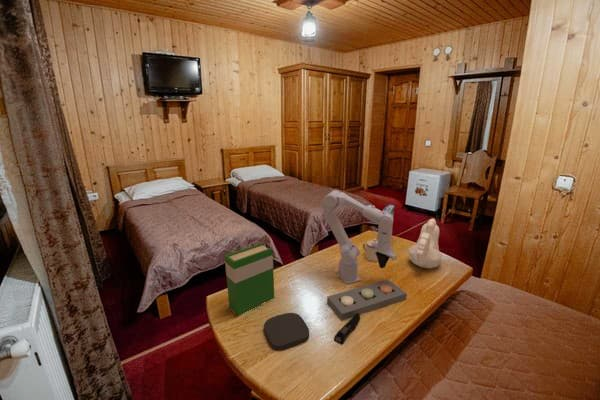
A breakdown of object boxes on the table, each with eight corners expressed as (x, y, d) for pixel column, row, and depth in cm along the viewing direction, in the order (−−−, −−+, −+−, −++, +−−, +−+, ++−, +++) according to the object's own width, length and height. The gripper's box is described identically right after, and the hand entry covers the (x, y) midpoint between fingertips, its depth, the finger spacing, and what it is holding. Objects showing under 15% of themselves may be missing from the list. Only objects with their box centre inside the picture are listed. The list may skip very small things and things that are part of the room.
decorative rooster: (417, 253, 162) (421, 212, 155) (445, 263, 151) (452, 219, 144) (394, 269, 146) (398, 224, 139) (424, 281, 135) (431, 233, 128)
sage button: (358, 294, 122) (359, 290, 121) (368, 292, 124) (368, 287, 123) (365, 301, 118) (366, 296, 117) (375, 298, 119) (376, 293, 119)
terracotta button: (377, 290, 126) (377, 286, 125) (386, 288, 128) (386, 283, 127) (385, 297, 122) (385, 292, 121) (394, 294, 124) (394, 289, 123)
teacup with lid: (385, 258, 157) (387, 239, 154) (376, 264, 151) (377, 244, 148) (367, 251, 166) (368, 232, 162) (357, 256, 160) (358, 237, 156)
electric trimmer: (362, 321, 110) (363, 314, 109) (342, 345, 98) (342, 338, 97) (353, 317, 112) (354, 310, 111) (333, 340, 100) (333, 333, 100)
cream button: (338, 302, 118) (338, 297, 118) (348, 299, 120) (349, 294, 120) (345, 309, 114) (345, 304, 113) (355, 306, 116) (355, 301, 115)
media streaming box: (273, 354, 95) (273, 347, 94) (261, 326, 108) (261, 319, 107) (312, 340, 101) (313, 333, 100) (296, 315, 113) (296, 309, 113)
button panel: (327, 302, 120) (327, 296, 120) (387, 284, 133) (387, 279, 132) (342, 320, 110) (342, 313, 109) (406, 299, 122) (406, 293, 121)
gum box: (383, 238, 183) (386, 204, 177) (391, 239, 181) (395, 205, 174) (376, 250, 167) (378, 213, 160) (384, 252, 164) (387, 214, 158)
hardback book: (265, 290, 129) (262, 242, 122) (274, 298, 124) (272, 248, 117) (229, 307, 118) (224, 255, 111) (238, 316, 113) (233, 262, 106)
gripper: (403, 244, 121) (400, 273, 125) (381, 232, 134) (379, 258, 138) (390, 247, 118) (387, 276, 122) (368, 235, 131) (367, 261, 135)
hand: (382, 267), depth 130 cm, fingers closed
